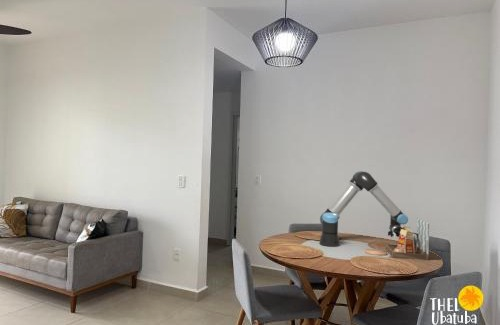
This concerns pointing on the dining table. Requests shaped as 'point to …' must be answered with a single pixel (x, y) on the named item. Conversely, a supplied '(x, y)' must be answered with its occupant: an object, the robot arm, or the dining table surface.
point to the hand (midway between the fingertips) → (405, 236)
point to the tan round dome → (375, 252)
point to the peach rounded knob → (397, 250)
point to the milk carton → (406, 240)
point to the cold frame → (421, 245)
